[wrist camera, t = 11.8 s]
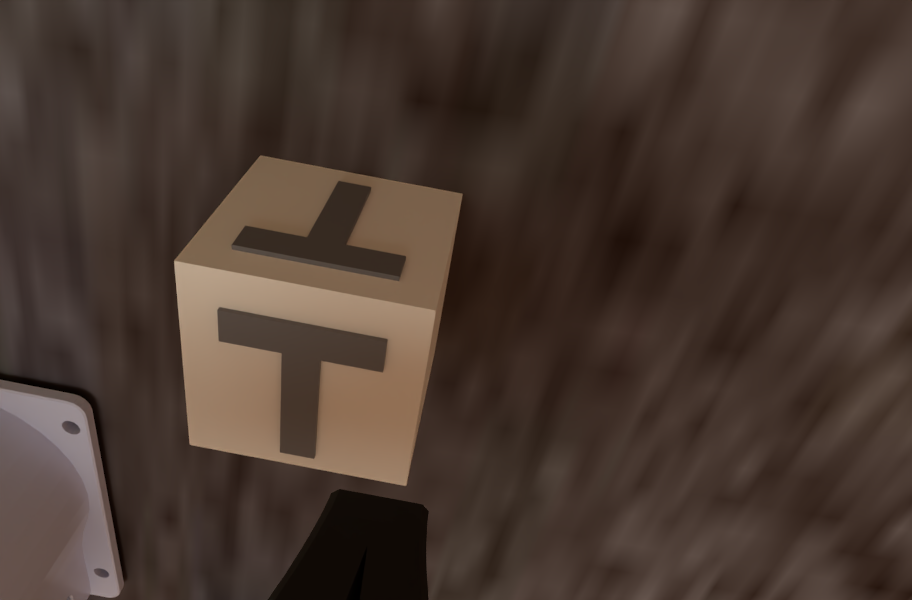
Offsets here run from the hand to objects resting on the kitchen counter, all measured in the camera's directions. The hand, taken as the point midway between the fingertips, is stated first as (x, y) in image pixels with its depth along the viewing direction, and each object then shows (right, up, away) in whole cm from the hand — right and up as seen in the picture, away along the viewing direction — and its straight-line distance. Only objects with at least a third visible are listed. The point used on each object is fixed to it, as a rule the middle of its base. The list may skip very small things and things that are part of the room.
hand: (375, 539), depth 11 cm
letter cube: (-1, +5, +6) cm, 8 cm away
